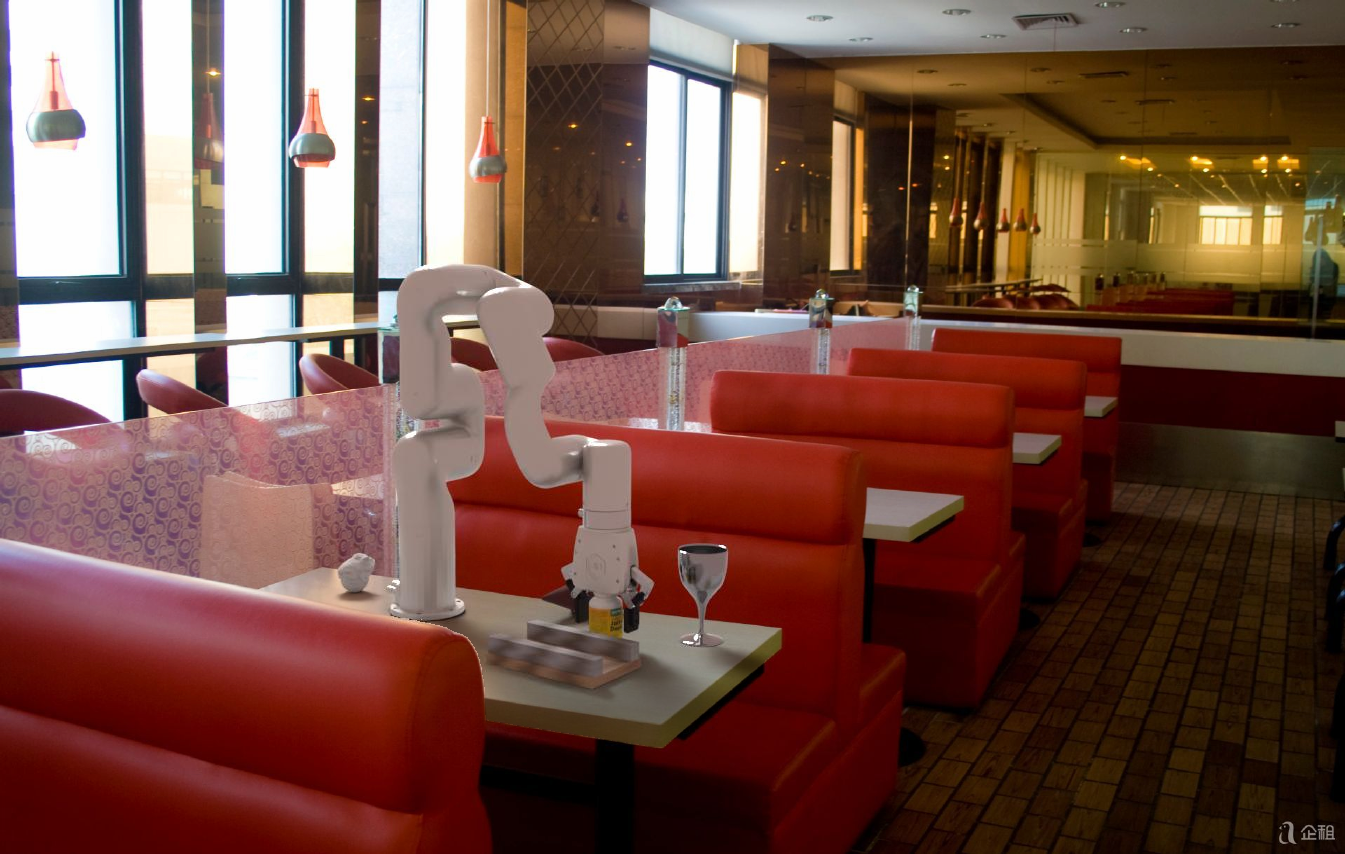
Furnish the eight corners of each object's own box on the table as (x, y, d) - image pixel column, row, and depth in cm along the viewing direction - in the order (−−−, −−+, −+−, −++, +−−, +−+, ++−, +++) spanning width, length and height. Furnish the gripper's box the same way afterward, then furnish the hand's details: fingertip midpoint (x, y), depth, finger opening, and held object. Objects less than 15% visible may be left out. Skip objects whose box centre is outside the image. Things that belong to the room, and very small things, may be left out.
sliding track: (485, 662, 180) (485, 636, 179) (537, 643, 190) (537, 618, 189) (592, 689, 169) (592, 661, 168) (640, 667, 179) (641, 641, 178)
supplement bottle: (598, 637, 193) (599, 579, 192) (628, 642, 191) (629, 583, 190) (582, 646, 188) (582, 587, 187) (612, 651, 186) (613, 591, 185)
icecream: (556, 589, 198) (630, 585, 207) (535, 569, 204) (608, 566, 213) (548, 626, 200) (621, 620, 209) (527, 606, 206) (600, 601, 215)
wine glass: (733, 636, 195) (735, 546, 193) (714, 650, 188) (716, 556, 186) (688, 630, 198) (690, 541, 196) (668, 643, 191) (670, 551, 189)
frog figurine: (381, 592, 219) (381, 554, 218) (345, 598, 215) (345, 559, 214) (366, 585, 224) (366, 548, 223) (331, 591, 219) (330, 553, 219)
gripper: (548, 516, 189) (548, 622, 191) (638, 529, 179) (637, 641, 181) (577, 509, 195) (577, 612, 197) (666, 521, 186) (665, 629, 188)
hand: (606, 626), depth 189 cm, fingers open, 9 cm apart
